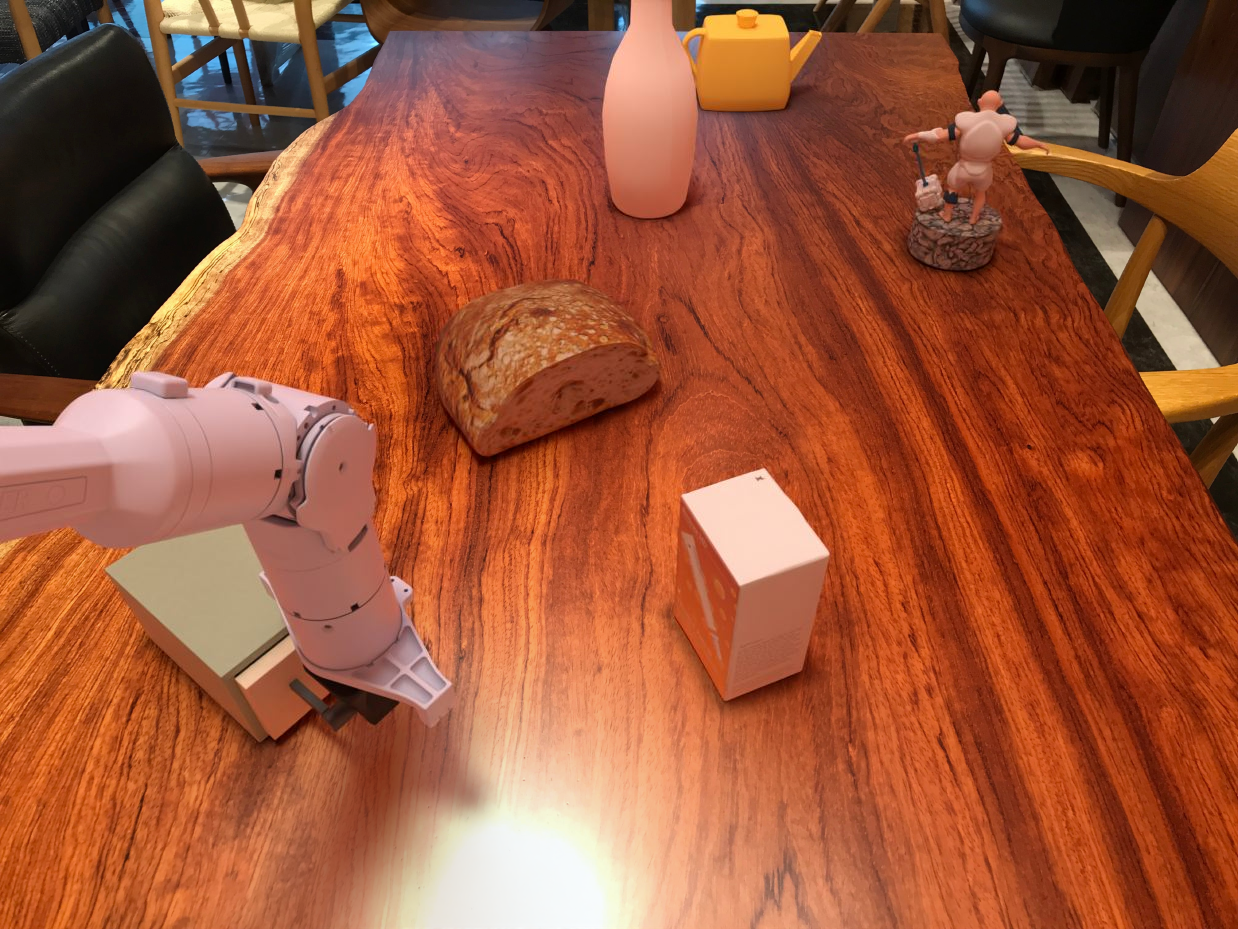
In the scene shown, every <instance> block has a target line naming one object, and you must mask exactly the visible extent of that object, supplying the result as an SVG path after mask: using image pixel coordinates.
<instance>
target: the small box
mask: <svg viewBox="0 0 1238 929" xmlns="http://www.w3.org/2000/svg"><path fill="white" fill-rule="evenodd" d="M679 497H680V500H679V520H678V534H677V536H678V537H677V550H676V551H677V552H676V567H675V569H676V571H675V583H674V584H675V585H674V600H673V601H674V602H673V616H674V617H675V619H676V621H677V622H678V623H679V625H680V627H681V629H682V630H683V632H684V633H685V635H686V637H687V638H688V640H689V642H690V644H691V645H692V647H693V649H694V651H695V652H696V654H697V656H698V657H699V659H700V661H701V662H702V664H703V666H704V668H705V670H706V672H707V673H708V675H709V677H710V679H711V681H712V683H713V684H714V686H715V688H716V690H717V691H718V693H719V696H720V697H721V699H722V700H723V701H724V702H728V701H730V700H733V699H735V698H737V697H740V696H742V695H745V694H747V693H750V692H753V691H755V690H757V689H761V688H762V687H764V686H768V685H770V684H773V683H776V682H777V681H780V680H784V679H785V678H788V677H790V676H793V675H795V674H798V673H800V672H802V671H803V668H804V664H805V659H806V655H807V651H808V646H809V642H810V639H811V634H812V630H813V627H814V622H815V618H816V614H817V610H818V606H819V602H820V598H821V593H822V590H823V589H822V588H823V584H824V581H825V576H826V573H827V568H828V564H829V560H830V557H831V552H830V551H829V549H828V548H827V547H826V545H825V544H824V543H823V541H822V540H821V538H820V537H819V536H818V535H817V533H816V532H815V531H814V529H813V527H811V525H810V524H809V523H808V521H807V519H805V517H804V515H803V514H802V513H801V512H802V511H800V509H799V508H798V507H797V506H796V505H795V503H794V502H793V501H792V500H791V498H790V497H789V496H788V495H787V494H786V493H785V492H784V491H783V489H782V488H781V487H780V485H779V484H778V483H777V481H775V479H774V478H773V477H772V475H771V474H770V473H769V472H768V470H767V469H766V468H765V467H763V468H760V469H757V470H753V471H750V472H747V473H744V474H741V475H738V476H734V477H731V478H729V479H725V480H722V481H719V482H717V483H712V484H710V485H708V486H705V487H701V488H698V489H696V490H695V489H694V490H692V491H690V492H687V493H683V494H681V495H680V496H679Z"/></svg>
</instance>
